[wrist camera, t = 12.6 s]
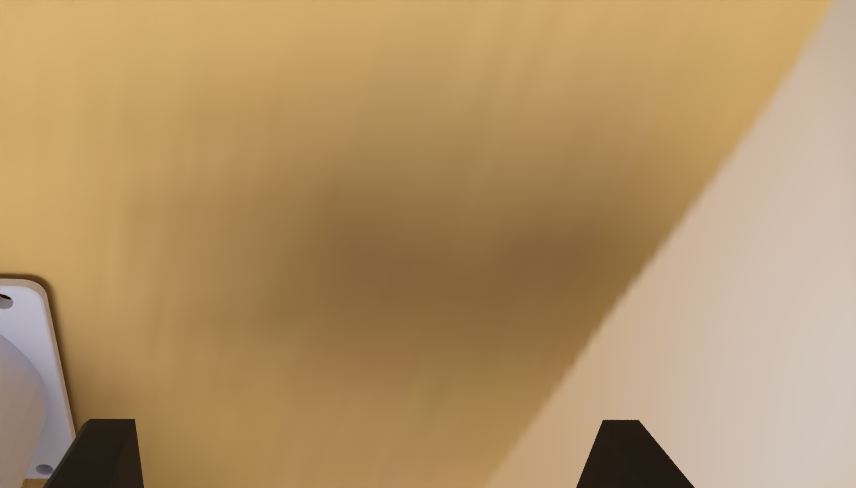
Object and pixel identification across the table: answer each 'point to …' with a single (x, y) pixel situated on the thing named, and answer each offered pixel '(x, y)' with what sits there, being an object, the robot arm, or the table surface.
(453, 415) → the table surface
